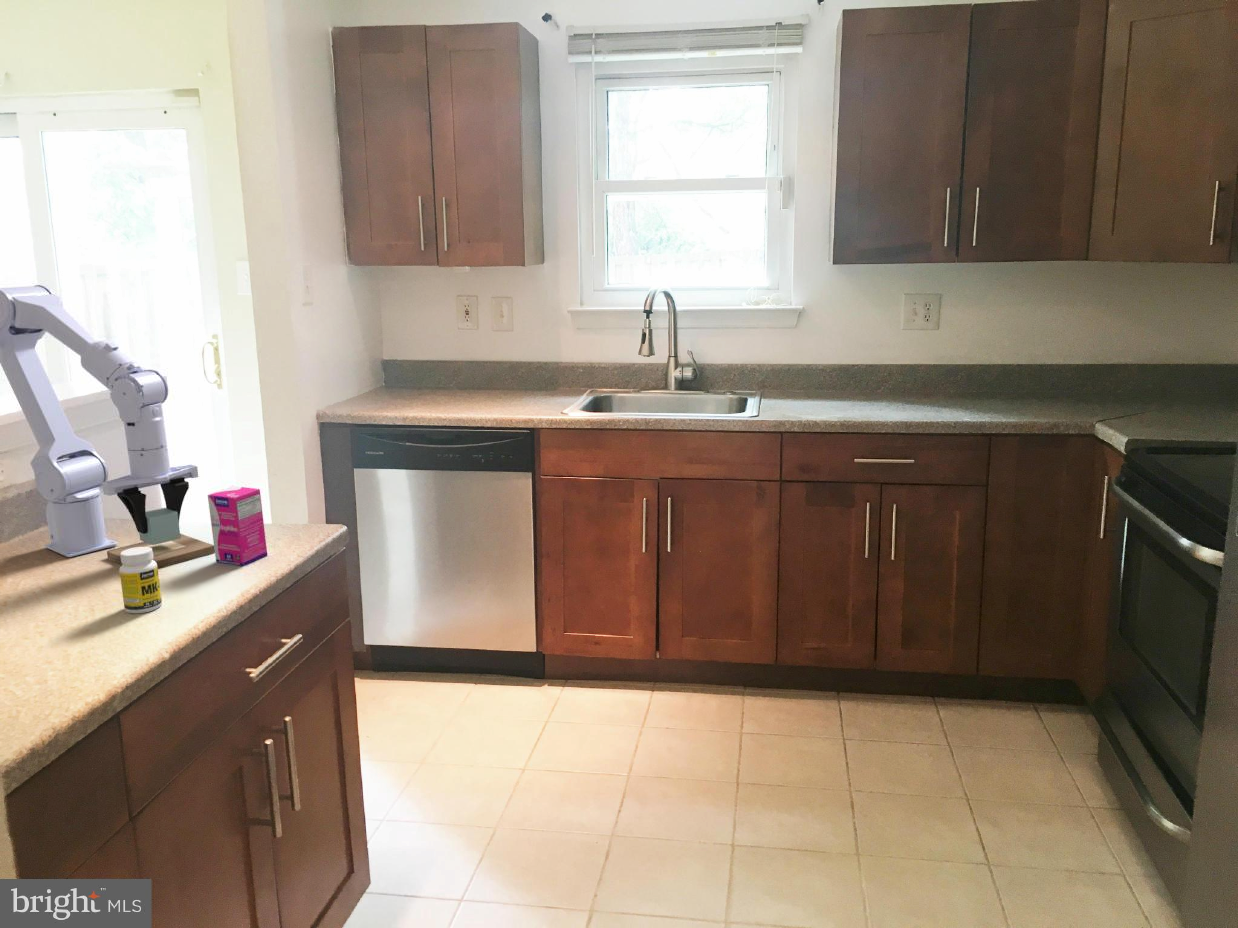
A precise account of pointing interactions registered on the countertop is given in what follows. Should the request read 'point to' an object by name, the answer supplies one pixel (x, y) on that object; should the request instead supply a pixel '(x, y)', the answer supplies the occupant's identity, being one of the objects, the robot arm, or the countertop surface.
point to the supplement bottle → (139, 580)
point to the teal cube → (161, 526)
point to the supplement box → (237, 525)
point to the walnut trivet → (170, 550)
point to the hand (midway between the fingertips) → (158, 528)
